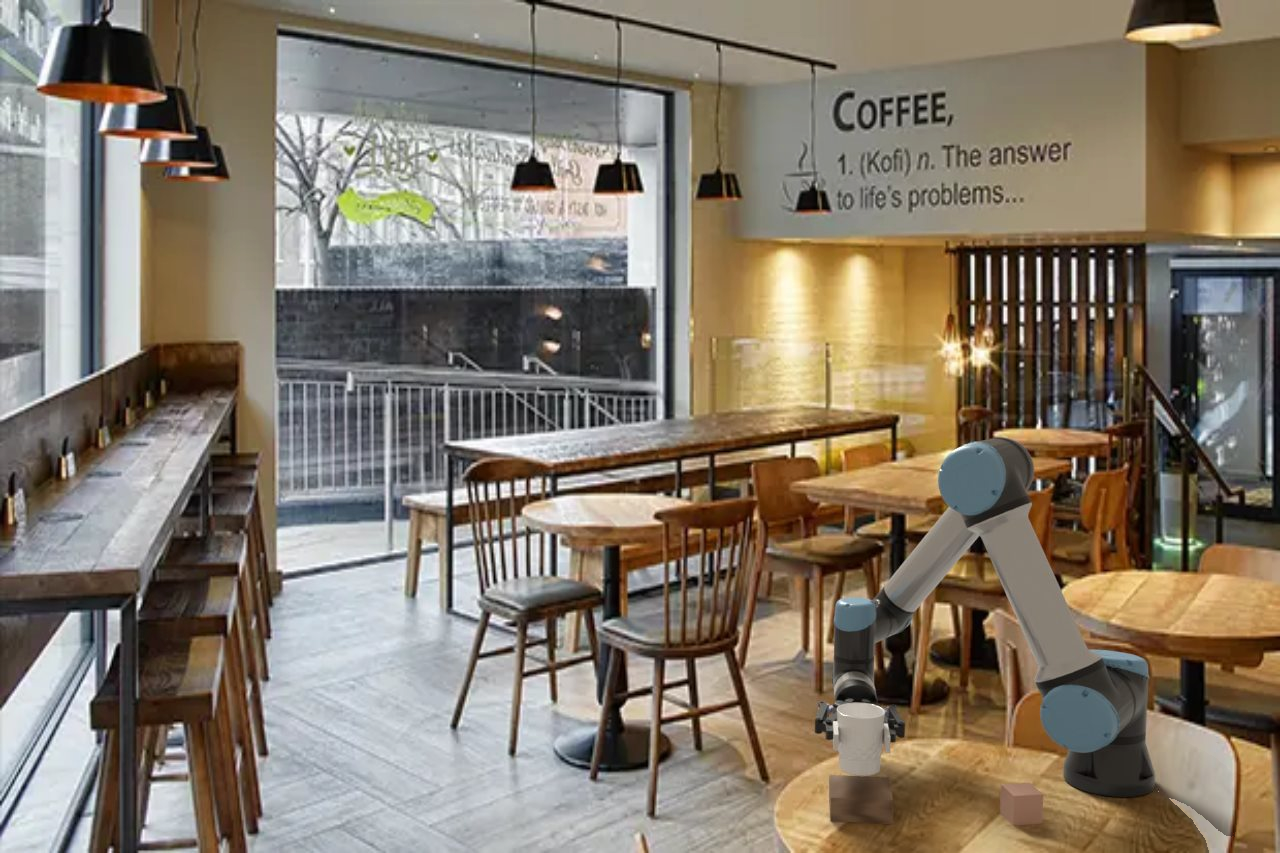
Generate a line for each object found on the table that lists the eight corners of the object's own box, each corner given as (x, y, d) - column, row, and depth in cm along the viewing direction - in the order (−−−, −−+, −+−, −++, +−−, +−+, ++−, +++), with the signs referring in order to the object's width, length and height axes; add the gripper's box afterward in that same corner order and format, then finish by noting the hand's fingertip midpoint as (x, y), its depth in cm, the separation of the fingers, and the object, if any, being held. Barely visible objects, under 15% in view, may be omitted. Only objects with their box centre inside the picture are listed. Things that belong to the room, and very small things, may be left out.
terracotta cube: (1028, 811, 211) (1029, 782, 211) (1042, 823, 206) (1043, 794, 206) (999, 813, 211) (1000, 784, 210) (1012, 825, 206) (1013, 796, 205)
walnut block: (888, 800, 216) (888, 777, 216) (892, 824, 206) (893, 800, 206) (828, 797, 217) (829, 774, 217) (830, 821, 207) (830, 797, 207)
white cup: (883, 779, 207) (884, 719, 206) (834, 775, 208) (835, 716, 207) (884, 761, 214) (885, 704, 213) (836, 758, 216) (837, 701, 215)
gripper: (913, 721, 227) (925, 769, 205) (797, 716, 230) (797, 763, 207) (914, 681, 227) (927, 724, 204) (798, 676, 229) (798, 718, 207)
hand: (861, 743), depth 206 cm, fingers closed on white cup, 7 cm apart
